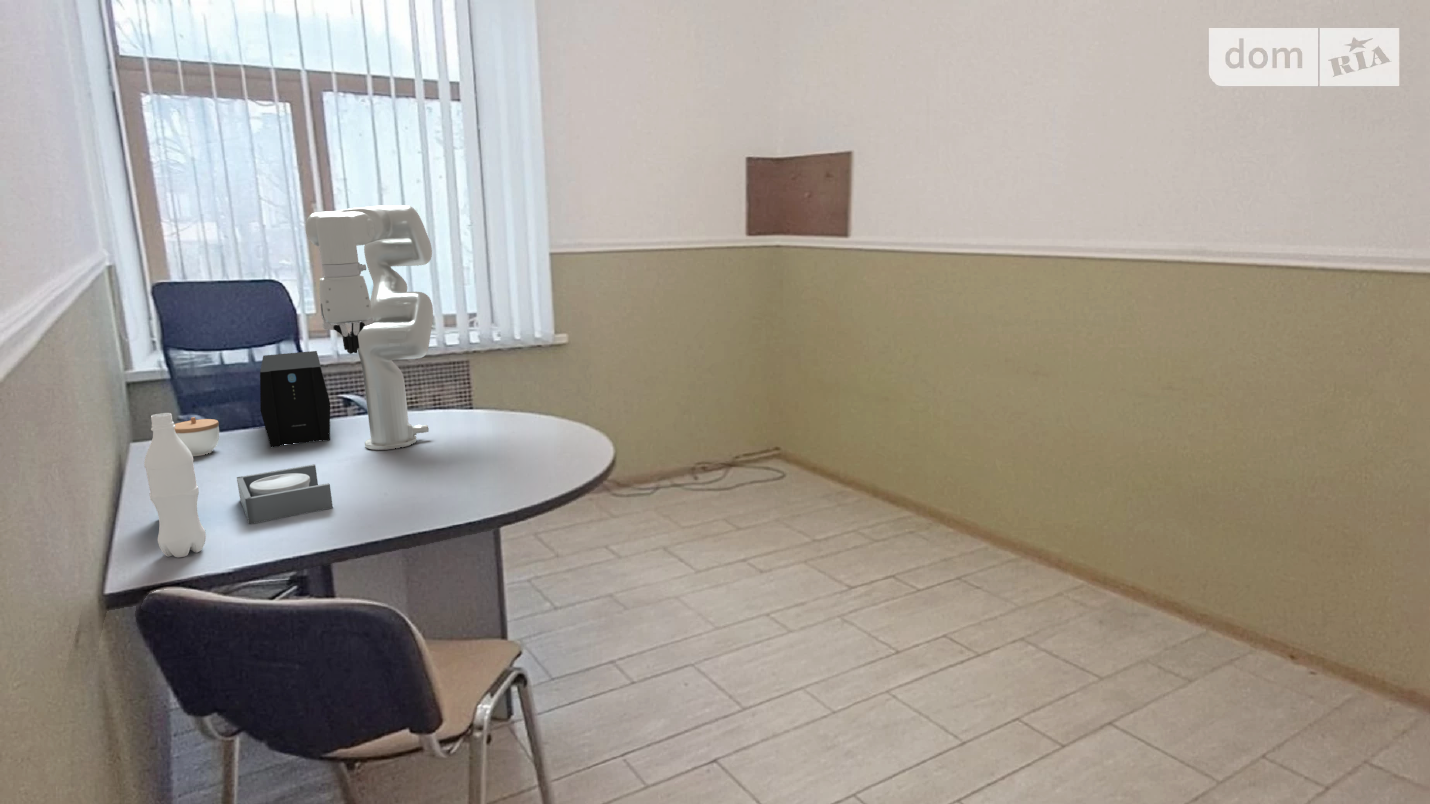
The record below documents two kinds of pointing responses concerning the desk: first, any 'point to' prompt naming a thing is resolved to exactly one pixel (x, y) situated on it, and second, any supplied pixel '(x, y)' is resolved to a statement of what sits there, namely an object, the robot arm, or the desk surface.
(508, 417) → the desk surface
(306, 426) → the uninterruptible power supply
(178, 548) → the water bottle
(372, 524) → the desk surface
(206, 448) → the lidded jar
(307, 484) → the ramekin
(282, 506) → the box
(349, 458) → the desk surface
